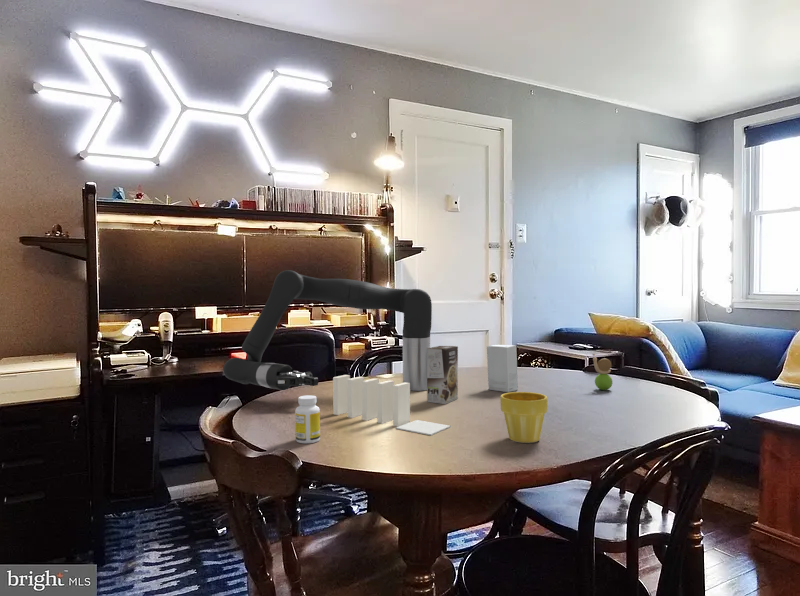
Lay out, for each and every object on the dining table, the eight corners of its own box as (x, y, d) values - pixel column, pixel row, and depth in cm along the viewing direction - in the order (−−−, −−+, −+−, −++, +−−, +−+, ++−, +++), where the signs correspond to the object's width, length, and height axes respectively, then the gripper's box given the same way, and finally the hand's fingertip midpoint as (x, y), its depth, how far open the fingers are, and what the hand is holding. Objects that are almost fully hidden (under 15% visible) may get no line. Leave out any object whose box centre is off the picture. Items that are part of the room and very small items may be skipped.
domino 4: (377, 422, 136) (377, 383, 136) (389, 418, 140) (389, 380, 140) (382, 423, 135) (382, 383, 135) (394, 419, 139) (394, 381, 139)
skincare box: (518, 390, 177) (518, 345, 176) (507, 393, 172) (507, 346, 172) (497, 387, 183) (497, 343, 182) (486, 389, 179) (486, 344, 178)
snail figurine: (589, 388, 179) (589, 352, 179) (607, 388, 180) (607, 352, 180) (596, 391, 174) (596, 354, 174) (615, 391, 175) (615, 354, 174)
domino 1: (333, 414, 145) (333, 377, 145) (345, 410, 149) (345, 374, 149) (337, 415, 144) (337, 377, 144) (350, 411, 148) (349, 375, 148)
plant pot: (490, 437, 123) (490, 394, 122) (521, 430, 129) (522, 389, 128) (525, 448, 114) (525, 402, 114) (557, 440, 120) (557, 396, 120)
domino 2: (347, 417, 142) (347, 379, 142) (359, 413, 146) (359, 376, 146) (351, 417, 141) (351, 379, 141) (364, 414, 145) (364, 377, 145)
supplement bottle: (320, 436, 124) (320, 394, 124) (320, 443, 118) (319, 399, 118) (296, 437, 123) (295, 394, 123) (294, 444, 118) (294, 399, 117)
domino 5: (393, 425, 133) (392, 385, 133) (404, 421, 137) (404, 382, 137) (398, 426, 132) (398, 386, 132) (410, 422, 136) (409, 382, 136)
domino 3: (362, 419, 139) (361, 381, 139) (374, 416, 143) (374, 378, 143) (366, 420, 138) (366, 381, 138) (379, 416, 142) (378, 379, 142)
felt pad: (395, 428, 130) (395, 427, 130) (416, 421, 138) (416, 419, 138) (430, 435, 124) (430, 434, 124) (450, 427, 132) (450, 425, 132)
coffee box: (446, 404, 156) (446, 349, 156) (426, 402, 160) (426, 347, 159) (458, 398, 164) (458, 345, 164) (439, 396, 168) (439, 344, 167)
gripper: (257, 366, 157) (298, 371, 146) (291, 360, 167) (332, 365, 157) (257, 392, 157) (299, 399, 147) (291, 385, 168) (332, 391, 157)
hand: (316, 381), depth 152 cm, fingers closed
